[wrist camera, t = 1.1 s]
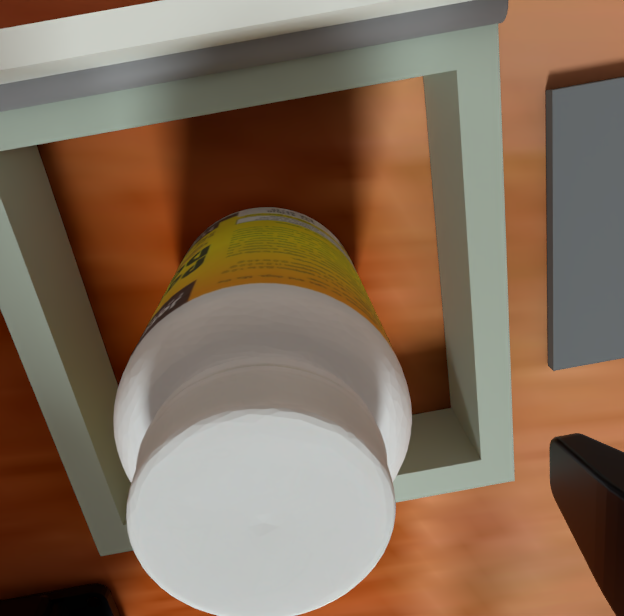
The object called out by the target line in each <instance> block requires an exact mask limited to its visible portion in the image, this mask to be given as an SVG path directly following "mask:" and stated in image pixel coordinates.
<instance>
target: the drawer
mask: <svg viewBox="0 0 624 616" xmlns="http://www.w3.org/2000/svg"><path fill="white" fill-rule="evenodd" d="M507 10H508V0H161V1H155V2H150V3H144V4H138V5H133V6H127V7H121V8H116V9H110V10H105V11H99V12H93V13H88V14H82V15H76V16H71V17H65V18H59V19H54V20H48V21H42V22H37V23H31V24H25V25H20V26H14V27H8V28H3V29H0V309H1V312H2V314H3V317H4V319H5V321H6V324H7V326H8V329H9V331H10V334H11V336H12V339H13V341H14V344H15V346H16V349H17V351H18V354H19V356H20V359H21V361H22V364H23V366H24V369H25V371H26V373H27V376H28V378H29V381H30V383H31V386H32V388H33V391H34V393H35V396H36V398H37V401H38V403H39V406H40V408H41V411H42V413H43V416H44V418H45V420H46V423H47V425H48V428H49V430H50V433H51V435H52V438H53V440H54V443H55V445H56V448H57V450H58V453H59V455H60V458H61V460H62V463H63V465H64V467H65V470H66V472H67V475H68V477H69V480H70V482H71V485H72V487H73V490H74V492H75V495H76V497H77V500H78V502H79V505H80V507H81V510H82V512H83V515H84V517H85V519H86V522H87V524H88V527H89V529H90V532H91V534H92V537H93V539H94V542H95V544H96V547H97V549H98V552H99V554H100V556H105V555H111V554H116V553H122V552H127V551H133V548H132V546H131V543H130V539H129V535H128V532H127V520H126V510H127V499H128V493H129V489H130V486H131V482H130V480H129V478H128V477H127V475H126V473H125V470H124V468H123V466H122V463H121V460H120V458H119V454H118V451H117V447H116V442H115V438H114V426H113V416H114V405H115V399H116V394H117V389H118V384H117V382H116V379H115V376H114V373H113V370H112V367H111V364H110V361H109V358H108V355H107V352H106V349H105V346H104V343H103V340H102V337H101V334H100V331H99V328H98V325H97V322H96V319H95V316H94V313H93V310H92V308H91V305H90V302H89V299H88V296H87V293H86V290H85V287H84V284H83V281H82V278H81V275H80V272H79V269H78V266H77V263H76V260H75V257H74V254H73V251H72V248H71V245H70V242H69V239H68V236H67V233H66V231H65V228H64V225H63V222H62V219H61V216H60V213H59V210H58V207H57V204H56V201H55V198H54V195H53V192H52V189H51V186H50V183H49V180H48V177H47V174H46V171H45V168H44V165H43V162H42V159H41V157H40V154H39V151H38V148H37V145H38V144H44V143H50V142H55V141H61V140H66V139H72V138H78V137H83V136H89V135H94V134H100V133H106V132H111V131H117V130H122V129H128V128H134V127H139V126H145V125H150V124H156V123H162V122H167V121H173V120H178V119H184V118H190V117H195V116H201V115H206V114H212V113H218V112H223V111H229V110H235V109H240V108H246V107H251V106H257V105H263V104H268V103H274V102H279V101H285V100H291V99H296V98H302V97H307V96H313V95H319V94H324V93H330V92H335V91H341V90H347V89H352V88H358V87H363V86H369V85H375V84H380V83H386V82H391V81H397V80H403V79H408V78H414V77H420V76H423V80H424V92H425V104H426V116H427V128H428V139H429V151H430V163H431V175H432V187H433V199H434V211H435V223H436V235H437V247H438V259H439V271H440V283H441V295H442V307H443V319H444V330H445V342H446V354H447V366H448V378H449V390H450V402H451V408H447V409H442V410H436V411H431V412H425V413H420V414H414V415H412V426H411V436H410V441H409V445H408V450H407V453H406V456H405V459H404V461H403V463H402V465H401V467H400V470H399V472H398V474H397V476H396V478H395V479H394V481H393V486H394V493H395V502H401V501H406V500H411V499H417V498H422V497H428V496H433V495H439V494H444V493H450V492H455V491H461V490H466V489H472V488H477V487H483V486H488V485H494V484H499V483H504V482H510V481H515V478H514V451H513V423H512V395H511V368H510V340H509V313H508V285H507V257H506V230H505V202H504V174H503V147H502V119H501V92H500V64H499V36H498V23H502V22H503V21H504V20H505V18H506V15H507Z"/></svg>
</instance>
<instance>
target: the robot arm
mask: <svg viewBox="0 0 624 616" xmlns="http://www.w3.org/2000/svg"><path fill="white" fill-rule="evenodd" d="M550 486H551V490H552V493H553V496H554V499H555V501H556V503H557V505H558V507H559V509H560V511H561V513H562V515H563V517H564V519H565V520H566V522H567V524H568V526H569V528H570V530H571V532H572V534H573V536H574V538H575V540H576V542H577V544H578V546H579V548H580V550H581V552H582V554H583V556H584V558H585V560H586V562H587V564H588V566H589V568H590V570H591V572H592V574H593V576H594V578H595V580H596V582H597V584H598V585H599V587H600V589H601V591H602V593H603V595H604V596H605V598H606V600H607V601H608V603H609V605H610V606H611V608H612V610H613V611H614V613H615V614H616V616H624V452H622V451H620V450H617V449H615V448H613V447H610V446H608V445H606V444H603V443H601V442H599V441H597V440H594V439H592V438H590V437H587V436H585V435H583V434H579V433H575V434H569V435H564V436H559V437H555V438H553V439H552V440H551V443H550ZM94 597H96V598H94ZM0 616H120V614H119V612H118V609H117V607H116V604H115V602H114V600H113V597H112V595H111V592H110V590H109V589H108V588H107V587H106V586H104V585H102V584H90V585H84V586H79V587H73V588H68V589H62V590H57V591H52V592H46V593H41V594H35V595H30V596H24V597H19V598H13V599H8V600H2V601H0Z"/></svg>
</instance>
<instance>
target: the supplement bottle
mask: <svg viewBox="0 0 624 616" xmlns="http://www.w3.org/2000/svg"><path fill="white" fill-rule="evenodd" d="M113 426H114V438H115V442H116V447H117V451H118V454H119V458H120V460H121V463H122V466H123V468H124V470H125V473H126V475H127V477H128V478H129V480H130V482H131V486H130V489H129V493H128V499H127V510H126V520H127V532H128V535H129V539H130V543H131V546H132V548H133V550H134V553H135V555H136V557H137V558H138V560H139V562H140V563H141V565H142V567H143V569H144V570H145V571H146V572H147V573H148V575H149V576H150V577H151V578H152V579H153V580H154V581H155V582H156V583H157V584H158V585H159V586H160V587H161V588H162V589H164V590H165V591H166V592H167V593H169V594H170V595H171V596H173V597H175V598H176V599H178V600H180V601H182V602H183V603H185V604H187V605H189V606H191V607H193V608H196V609H199V610H202V611H204V612H207V613H211V614H214V615H218V616H295V615H300V614H303V613H306V612H309V611H312V610H315V609H317V608H320V607H322V606H324V605H326V604H328V603H330V602H332V601H334V600H336V599H338V598H339V597H341V596H343V595H344V594H346V593H347V592H349V591H350V590H351V589H352V588H353V587H355V586H356V585H357V584H358V583H359V582H361V581H362V580H363V579H364V578H365V577H366V576H367V575H368V574H369V573H370V571H371V570H372V569H373V568H374V567H375V566H376V564H377V562H378V561H379V559H380V558H381V556H382V555H383V553H384V551H385V549H386V547H387V545H388V542H389V540H390V537H391V534H392V531H393V527H394V521H395V512H396V502H395V493H394V486H393V481H394V479H395V478H396V476H397V474H398V472H399V470H400V467H401V465H402V463H403V461H404V459H405V456H406V453H407V450H408V445H409V441H410V436H411V426H412V408H411V399H410V395H409V390H408V386H407V382H406V379H405V376H404V374H403V371H402V367H401V365H400V363H399V361H398V358H397V356H396V354H395V352H394V350H393V348H392V345H391V344H390V341H389V339H388V337H387V335H386V333H385V331H384V329H383V327H382V325H381V323H380V321H379V318H378V316H377V314H376V312H375V310H374V308H373V306H372V303H371V302H370V299H369V297H368V295H367V293H366V291H365V289H364V287H363V285H362V282H361V280H360V278H359V276H358V274H357V272H356V270H355V267H354V265H353V263H352V261H351V259H350V257H349V255H348V253H347V251H346V250H345V248H344V247H343V245H342V244H341V243H340V241H339V240H338V239H337V238H336V237H335V236H334V235H333V234H332V233H331V232H330V231H329V230H328V229H327V228H325V227H324V226H323V225H322V224H320V223H319V222H317V221H315V220H314V219H312V218H310V217H308V216H306V215H304V214H301V213H298V212H295V211H292V210H288V209H283V208H276V207H258V208H251V209H246V210H242V211H239V212H236V213H233V214H230V215H228V216H226V217H224V218H222V219H220V220H218V221H217V222H215V223H214V224H212V225H211V226H210V227H208V228H207V229H206V230H205V231H204V232H203V233H202V234H201V235H200V236H199V237H198V238H197V239H196V240H195V241H194V243H193V244H192V246H191V247H190V249H189V250H188V252H187V253H186V255H185V256H184V258H183V260H182V262H181V264H180V266H179V267H178V270H177V271H176V273H175V275H174V277H173V279H172V280H171V282H170V284H169V286H168V288H167V290H166V292H165V294H164V296H163V297H162V299H161V301H160V303H159V305H158V307H157V309H156V311H155V312H154V314H153V316H152V318H151V320H150V322H149V324H148V325H147V327H146V329H145V331H144V333H143V335H142V336H141V338H140V340H139V342H138V344H137V346H136V347H135V349H134V351H133V353H132V355H131V357H130V359H129V361H128V364H127V366H126V368H125V370H124V372H123V375H122V378H121V381H120V384H119V386H118V389H117V394H116V399H115V405H114V416H113Z"/></svg>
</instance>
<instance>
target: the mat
mask: <svg viewBox="0 0 624 616" xmlns="http://www.w3.org/2000/svg"><path fill="white" fill-rule="evenodd" d="M546 178H547V306H548V366H549V367H550V368H551V369H552V370H553V371H555V370H560V369H566V368H571V367H577V366H582V365H588V364H593V363H599V362H604V361H610V360H615V359H621V358H624V77H618V78H613V79H607V80H602V81H596V82H590V83H585V84H579V85H574V86H568V87H562V88H557V89H551V90H546Z"/></svg>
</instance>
